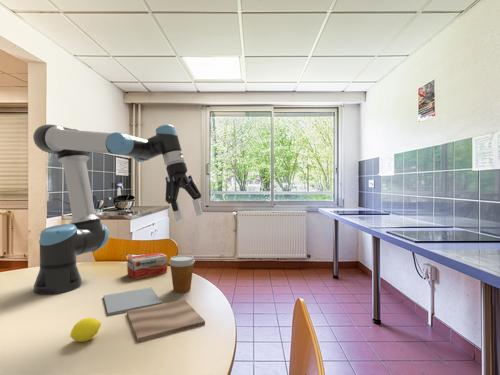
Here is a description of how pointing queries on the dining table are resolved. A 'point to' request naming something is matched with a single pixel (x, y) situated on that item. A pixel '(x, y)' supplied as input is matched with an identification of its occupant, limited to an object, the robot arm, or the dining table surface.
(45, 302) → the dining table surface
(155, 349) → the dining table surface
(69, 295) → the dining table surface
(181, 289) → the disposable coffee cup
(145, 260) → the medicine box
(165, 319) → the walnut board
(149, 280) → the dining table surface
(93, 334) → the lemon
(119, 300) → the slate grey mat
